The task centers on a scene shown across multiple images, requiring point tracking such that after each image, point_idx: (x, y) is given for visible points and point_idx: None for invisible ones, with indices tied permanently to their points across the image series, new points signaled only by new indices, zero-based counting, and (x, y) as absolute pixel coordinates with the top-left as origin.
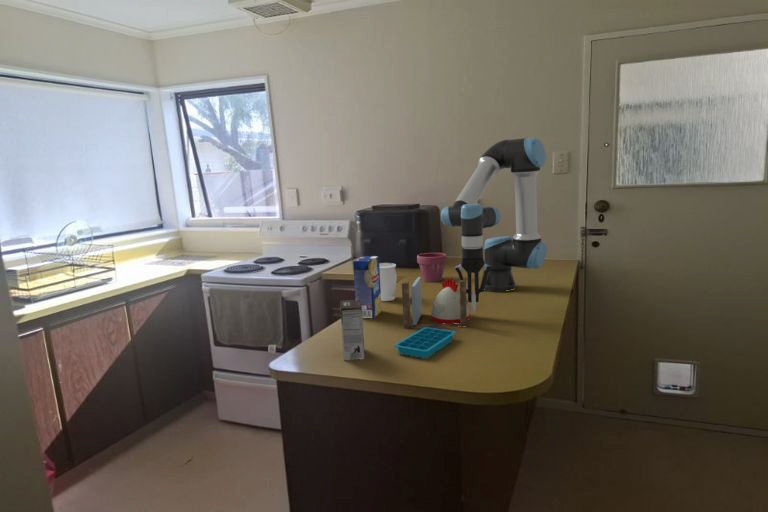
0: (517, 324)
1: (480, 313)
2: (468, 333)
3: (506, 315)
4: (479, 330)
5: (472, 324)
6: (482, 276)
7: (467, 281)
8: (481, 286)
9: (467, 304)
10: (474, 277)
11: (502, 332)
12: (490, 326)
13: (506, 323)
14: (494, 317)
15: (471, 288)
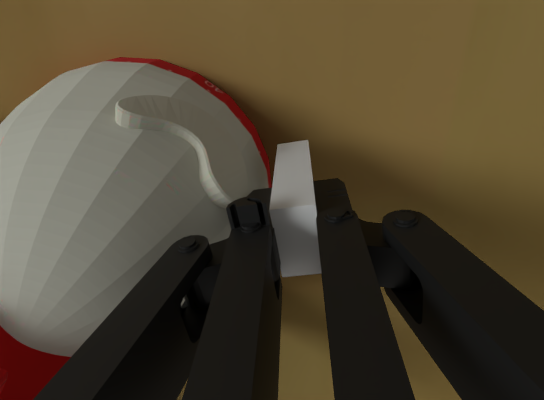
0: (539, 269)
1: (345, 55)
2: (282, 376)
3: (534, 97)
4: (328, 347)
5: (294, 277)
6: (522, 371)
7: (207, 326)
8: (413, 326)
9: (246, 176)
10: (332, 376)
11: (429, 364)
12: (385, 300)
13: (482, 256)
14: (435, 150)
15: (280, 322)
